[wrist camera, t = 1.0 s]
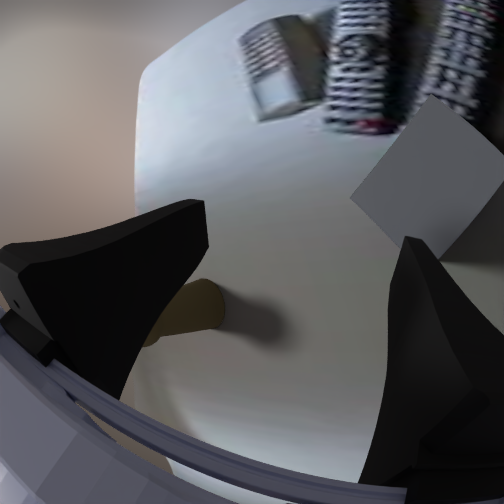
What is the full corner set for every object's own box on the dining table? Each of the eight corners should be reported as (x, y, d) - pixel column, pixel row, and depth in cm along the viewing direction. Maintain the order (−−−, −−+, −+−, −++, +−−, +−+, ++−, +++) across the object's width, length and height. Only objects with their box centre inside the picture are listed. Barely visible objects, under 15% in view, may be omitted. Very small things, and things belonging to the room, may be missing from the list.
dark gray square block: (495, 184, 16) (513, 165, 10) (430, 260, 20) (423, 274, 14) (438, 131, 18) (431, 93, 13) (378, 206, 22) (349, 197, 16)
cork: (223, 335, 34) (143, 365, 25) (188, 320, 37) (112, 341, 28) (226, 284, 33) (139, 303, 24) (189, 273, 36) (108, 286, 28)
